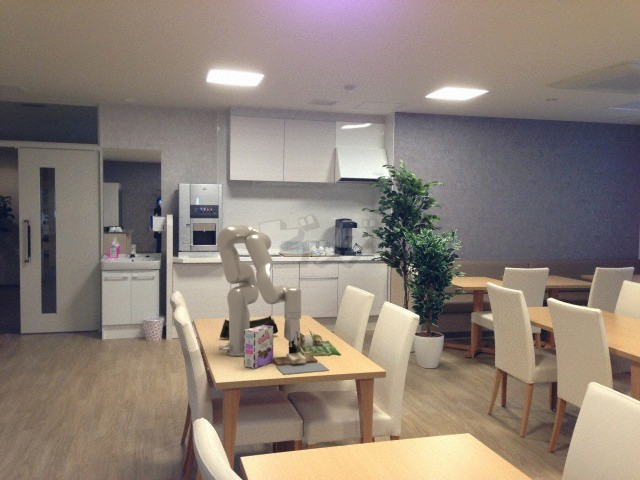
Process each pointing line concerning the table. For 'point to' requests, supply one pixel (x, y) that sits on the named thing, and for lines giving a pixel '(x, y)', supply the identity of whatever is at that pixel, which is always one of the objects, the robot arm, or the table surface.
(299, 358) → the birch tile
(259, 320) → the magazine
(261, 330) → the candy box
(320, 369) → the slate mat
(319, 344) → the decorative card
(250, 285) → the robot arm
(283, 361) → the walnut deck
